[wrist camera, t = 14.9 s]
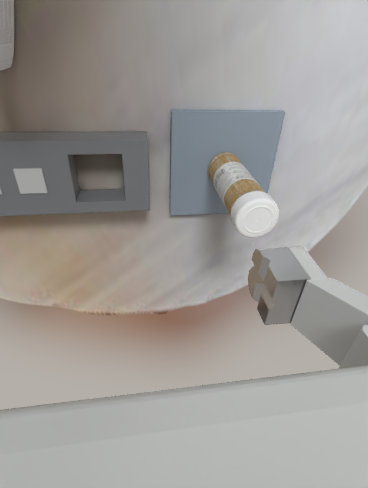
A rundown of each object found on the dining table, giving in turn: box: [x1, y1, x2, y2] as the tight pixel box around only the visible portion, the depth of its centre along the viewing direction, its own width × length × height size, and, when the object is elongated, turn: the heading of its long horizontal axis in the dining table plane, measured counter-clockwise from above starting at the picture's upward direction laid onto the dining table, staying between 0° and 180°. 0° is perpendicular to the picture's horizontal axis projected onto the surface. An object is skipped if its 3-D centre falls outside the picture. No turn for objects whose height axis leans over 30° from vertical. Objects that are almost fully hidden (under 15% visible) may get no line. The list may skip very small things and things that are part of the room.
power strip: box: [0, 132, 150, 216], centre depth 36 cm, size 9×24×4 cm, turn 88°
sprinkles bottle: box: [208, 152, 279, 238], centre depth 35 cm, size 5×5×14 cm
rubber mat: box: [170, 110, 285, 215], centre depth 41 cm, size 14×14×1 cm
